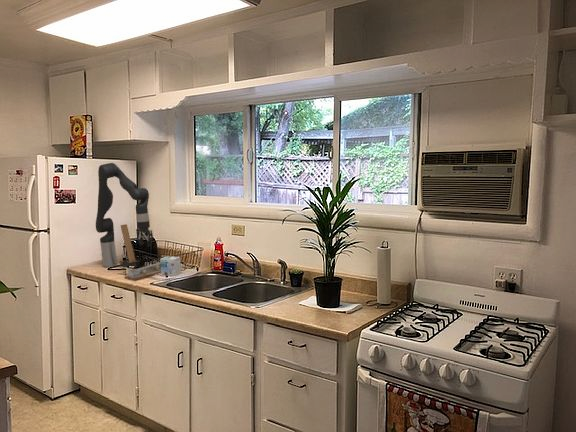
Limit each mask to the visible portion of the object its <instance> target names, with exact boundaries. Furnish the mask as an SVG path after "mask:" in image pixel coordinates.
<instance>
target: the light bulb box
mask: <svg viewBox="0 0 576 432" xmlns="http://www.w3.org/2000/svg"><path fill="white" fill-rule="evenodd" d="M159 262H160V266H161V274H160V275H161V276H165V277H167V276H169V277H177V276H179V275H181V274H182V268H181V257H180V256H164V257H162V258H160V259H159Z"/></svg>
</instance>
